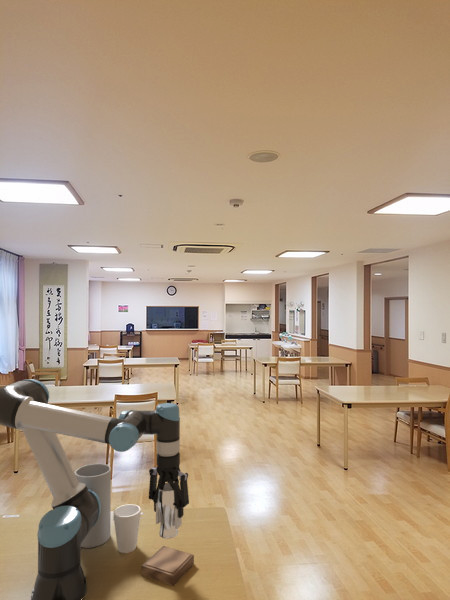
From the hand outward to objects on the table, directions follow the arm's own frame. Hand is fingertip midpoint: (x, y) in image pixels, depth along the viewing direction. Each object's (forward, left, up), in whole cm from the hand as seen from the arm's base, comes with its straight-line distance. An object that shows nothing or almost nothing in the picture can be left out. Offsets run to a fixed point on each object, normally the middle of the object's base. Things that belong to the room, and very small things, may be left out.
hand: (168, 524), depth 132 cm
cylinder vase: (-35, +3, -15) cm, 38 cm away
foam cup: (-20, +4, -15) cm, 25 cm away
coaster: (0, 0, -14) cm, 14 cm away
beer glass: (0, 0, -3) cm, 3 cm away
